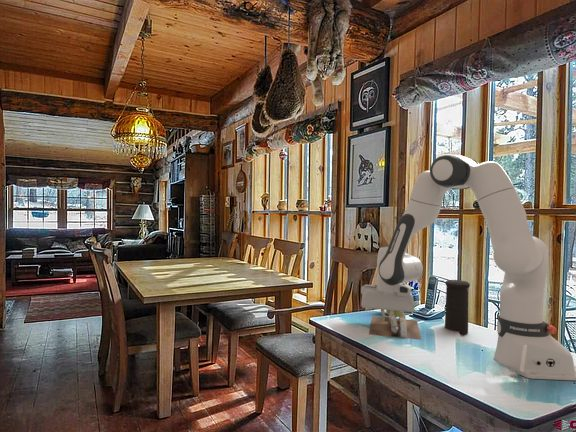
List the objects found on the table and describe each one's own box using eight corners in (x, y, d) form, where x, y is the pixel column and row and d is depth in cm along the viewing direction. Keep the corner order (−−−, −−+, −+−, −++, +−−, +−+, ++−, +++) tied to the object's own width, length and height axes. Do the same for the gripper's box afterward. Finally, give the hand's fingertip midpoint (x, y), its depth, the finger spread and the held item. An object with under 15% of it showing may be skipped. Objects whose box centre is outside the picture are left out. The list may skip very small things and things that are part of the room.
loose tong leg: (395, 319, 156) (395, 313, 156) (398, 336, 135) (398, 328, 135) (389, 319, 157) (389, 312, 157) (391, 335, 136) (391, 327, 136)
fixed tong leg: (405, 321, 155) (405, 313, 155) (407, 337, 134) (407, 328, 134) (398, 320, 156) (399, 312, 156) (400, 337, 135) (400, 328, 135)
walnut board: (416, 324, 157) (416, 320, 157) (421, 343, 133) (421, 339, 133) (372, 320, 162) (372, 316, 162) (368, 338, 138) (368, 334, 138)
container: (473, 333, 146) (474, 281, 146) (460, 337, 141) (461, 283, 141) (452, 327, 153) (453, 277, 153) (439, 331, 148) (440, 279, 148)
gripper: (360, 285, 150) (359, 320, 150) (415, 289, 145) (414, 325, 145) (361, 282, 156) (360, 316, 157) (414, 286, 151) (413, 321, 151)
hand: (386, 320), depth 151 cm, fingers closed
